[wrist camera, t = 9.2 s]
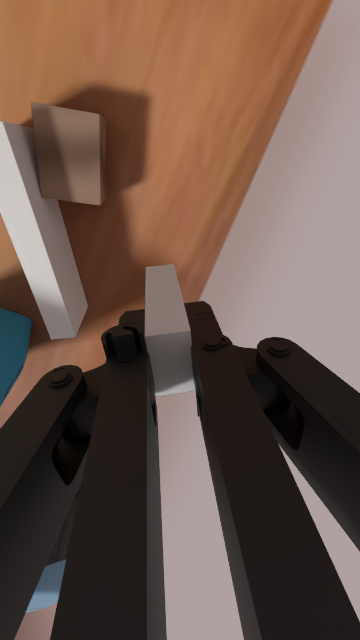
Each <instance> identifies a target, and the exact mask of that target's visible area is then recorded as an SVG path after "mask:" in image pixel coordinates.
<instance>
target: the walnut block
mask: <svg viewBox="0 0 360 640" xmlns="http://www.w3.org/2000/svg"><path fill="white" fill-rule="evenodd" d="M31 109H32V117H33V126H34V135H35V144H36V152H37V161H38V170H39V179H40V187H41V196H42V198H47V199H55V200H62V201H70V202H78V203H85V204H93V205H101V204H102V203H103V202H104V201H105V200H106V199H107V119H105V118H104V117H103V116H101V115H100V114H96V113H90V112H85V111H79V110H73V109H68V108H62V107H57V106H51V105H45V104H40V103H34V102H31Z"/></svg>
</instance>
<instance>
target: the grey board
mask: <svg viewBox="0 0 360 640" xmlns="http://www.w3.org/2000/svg"><path fill="white" fill-rule="evenodd" d="M0 212H1V215H2V217H3V220H4V222H5V225H6V227H7V230H8V232H9V235H10V237H11V240H12V242H13V245H14V247H15V250H16V253H17V255H18V258H19V260H20V263H21V265H22V268H23V270H24V273H25V275H26V278H27V280H28V283H29V285H30V288H31V290H32V293H33V295H34V298H35V300H36V303H37V305H38V308H39V310H40V313H41V315H42V318H43V320H44V323H45V325H46V328H47V330H48V333H49V335H50V338H51V340H53V339H63V338H72V337H76V335H77V332H78V330H79V327H80V325H81V322H82V320H83V318H84V315H85V313H86V310H87V308H88V304H87V301H86V298H85V294H84V291H83V287H82V284H81V280H80V277H79V273H78V270H77V266H76V263H75V259H74V256H73V252H72V249H71V245H70V242H69V238H68V235H67V231H66V228H65V224H64V221H63V217H62V214H61V210H60V207H59V203H58V200H55V199H47V198H42V196H41V187H40V179H39V170H38V161H37V152H36V144H35V135H34V128H31V127H26V126H22V125H17V124H12V123H7V122H3V121H1V122H0Z"/></svg>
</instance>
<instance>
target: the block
mask: <svg viewBox="0 0 360 640" xmlns="http://www.w3.org/2000/svg"><path fill="white" fill-rule="evenodd" d="M31 326H32V321H31V319H30V318H28V317H26V316H23V315H20V314H17V313H15V312H12V311H9V310H6V309H3V308H0V406H1V405H2V403H3V401H4V400H5V398H6V396H7V395H8V393H9V391H10V390H11V388H12V386H13V385H14V383H15V381H16V380H17V378H18V376H19V375H20V373H21V371H22V369H23V366H24V363H25V360H26V357H27V352H28V346H29V339H30V332H31Z"/></svg>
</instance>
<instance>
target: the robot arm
mask: <svg viewBox="0 0 360 640" xmlns="http://www.w3.org/2000/svg"><path fill="white" fill-rule="evenodd" d="M101 341H102V344H103V348H104V351H105V355H106V358H107V359H106V363H105V364H103V365H102V366H100V367H97V368H95V369H92V370H90V371H87V372H84V373H83V372H82V369H80V368H79V367H78V366H74V365H65V366H61V367H58V368H55V369H53V370H51V371H49V372H48V373H46V374H45V375H44V376H43V377H42V378H41V379H40V380H39V381H38V383H37V384H36V385H35V386H34V388H33V389H32V390H31V391H30V393H29V394H28V395H27V396H26V398H25V399H24V400H23V401H22V403H21V404H20V405H19V406H18V408H17V409H16V410H15V411H14V413H13V414H12V415H11V416H10V418H9V419H8V420H7V421H6V423H5V424H4V425H3V426H2V428H1V429H0V640H14V638H15V636H16V634H17V631H18V629H19V626H20V624H21V622H22V620H23V617H24V615H25V613H27V612H32V611H36V610H39V609H42V608H46V607H48V606H51V605H53V604H55V603H57V602H58V603H57V608H56V613H55V618H54V623H53V628H52V633H51V638H50V640H167V637H166V613H165V589H164V567H163V543H162V518H161V495H160V470H159V446H158V422H157V406H156V400H155V395H156V396H163V395H169V394H177V393H184V392H192V391H195V389H196V398H197V412H198V416H200V421H201V426H202V430H203V436H204V441H205V446H206V450H207V456H208V461H209V466H210V471H211V476H212V481H213V485H214V491H215V496H216V501H217V506H218V511H219V516H220V521H221V526H222V530H223V536H224V541H225V546H226V551H227V556H228V561H229V566H230V571H231V576H232V581H233V586H234V591H235V596H236V601H237V606H238V611H239V616H240V621H241V626H242V631H243V636H244V640H360V622H359V619H358V617H357V615H356V613H355V611H354V608H353V606H352V604H351V602H350V600H349V598H348V595H347V593H346V591H345V589H344V587H343V585H342V582H341V580H340V578H339V576H338V573H337V571H336V569H335V567H334V565H333V563H332V560H331V558H330V556H329V554H328V552H327V549H326V547H325V545H324V543H323V541H322V538H321V536H320V534H319V532H318V530H317V528H316V525H315V523H314V521H313V519H312V517H311V515H310V512H309V510H308V508H307V506H306V504H305V501H304V499H303V497H302V495H301V493H300V491H299V488H298V486H297V484H296V482H295V480H294V477H293V475H292V473H291V471H290V469H289V466H288V464H287V462H286V460H285V458H284V456H283V453H282V451H281V449H280V447H279V445H280V446H281V448H282V449H283V450H284V451H285V453H286V454H287V455H288V457H289V458H290V459H291V461H292V462H293V463H294V465H295V466H296V467H297V468H298V470H299V471H300V473H301V474H302V475H303V477H304V478H305V479H306V481H307V482H308V483H309V484H310V486H311V487H312V488H313V490H314V491H315V493H316V494H317V495H318V497H319V498H320V499H321V501H322V502H323V503H324V505H325V506H326V507H327V508H328V510H329V511H330V513H331V514H332V515H333V516H334V518H335V519H336V520H337V522H338V523H339V524H340V526H341V527H342V528H343V530H344V531H345V532H346V534H347V535H348V536H349V538H350V539H351V540H352V542H353V543H354V544H355V546H356V547H357V548H358V550H359V551H360V393H358V392H357V391H356V390H355V389H354V388H352V387H351V386H350V385H348V384H347V383H346V382H344V381H343V380H342V379H341V378H339V377H338V376H337V375H336V374H334V373H333V372H332V371H330V370H329V369H328V368H327V367H325V366H324V365H323V364H321V363H320V362H319V361H318V360H316V359H315V358H314V357H312V356H311V355H310V354H309V353H307V352H306V351H305V350H304V349H302V348H301V347H300V346H298V345H297V344H296V343H294V342H292V341H291V340H288V339H285V338H279V337H271V338H266V339H264V340H261V341H260V342H259V344H258V345H257V349H254V348H243V347H238V346H235V345H233V344H232V342H231V340H230V339H229V338H228V337H226V336H224V335H223V334H222V332H221V329H220V327H219V324H218V322H217V320H216V318H215V315H214V313H213V311H212V308H211V306H210V305H209V304H207V303H206V302H204V301H199V302H191V303H184V302H183V298H182V294H181V290H180V286H179V282H178V278H177V275H176V271H175V267H174V264H169V265H161V266H152V267H146V285H145V309H141V310H133V311H125V313H124V314H123V315H122V316H121V317H120V319H119V325H118V326H114V327H112V328H110V329H108V330H107V331H106V332H104V333H103V335H102V337H101Z"/></svg>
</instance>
